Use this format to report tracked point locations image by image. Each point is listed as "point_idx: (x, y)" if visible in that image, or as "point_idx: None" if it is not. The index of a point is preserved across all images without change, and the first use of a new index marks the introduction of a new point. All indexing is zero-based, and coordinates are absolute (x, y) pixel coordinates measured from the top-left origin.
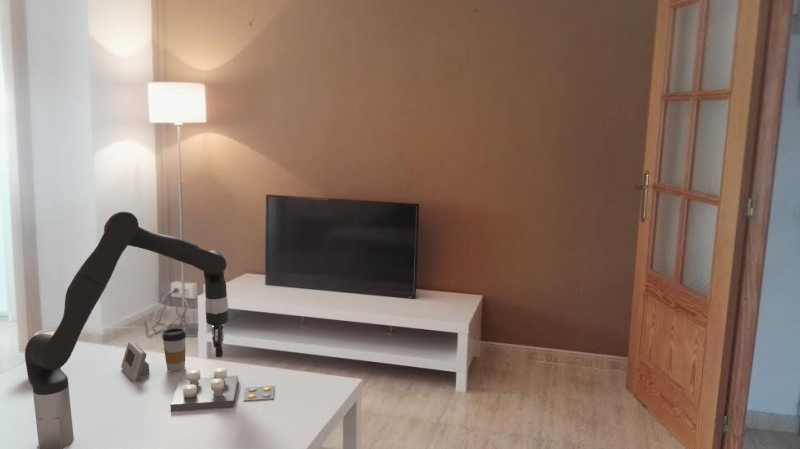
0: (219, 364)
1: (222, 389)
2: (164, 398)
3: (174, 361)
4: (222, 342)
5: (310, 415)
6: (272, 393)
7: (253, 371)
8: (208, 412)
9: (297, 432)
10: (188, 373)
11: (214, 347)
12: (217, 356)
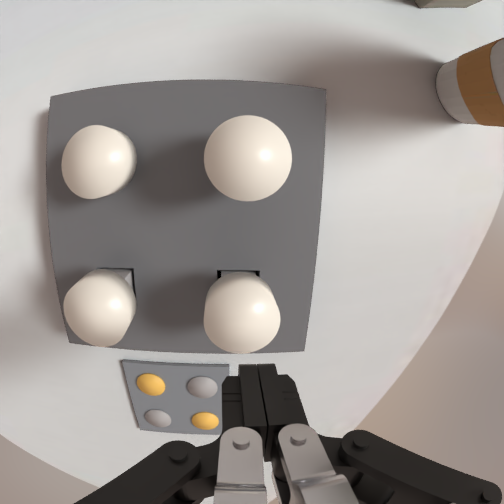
0: (462, 247)
1: (163, 303)
2: (192, 45)
3: (462, 76)
4: (285, 485)
5: (74, 461)
6: (173, 429)
7: (371, 368)
8: (45, 246)
9: (11, 428)
10: (228, 127)
11: (168, 443)
12: (238, 373)
